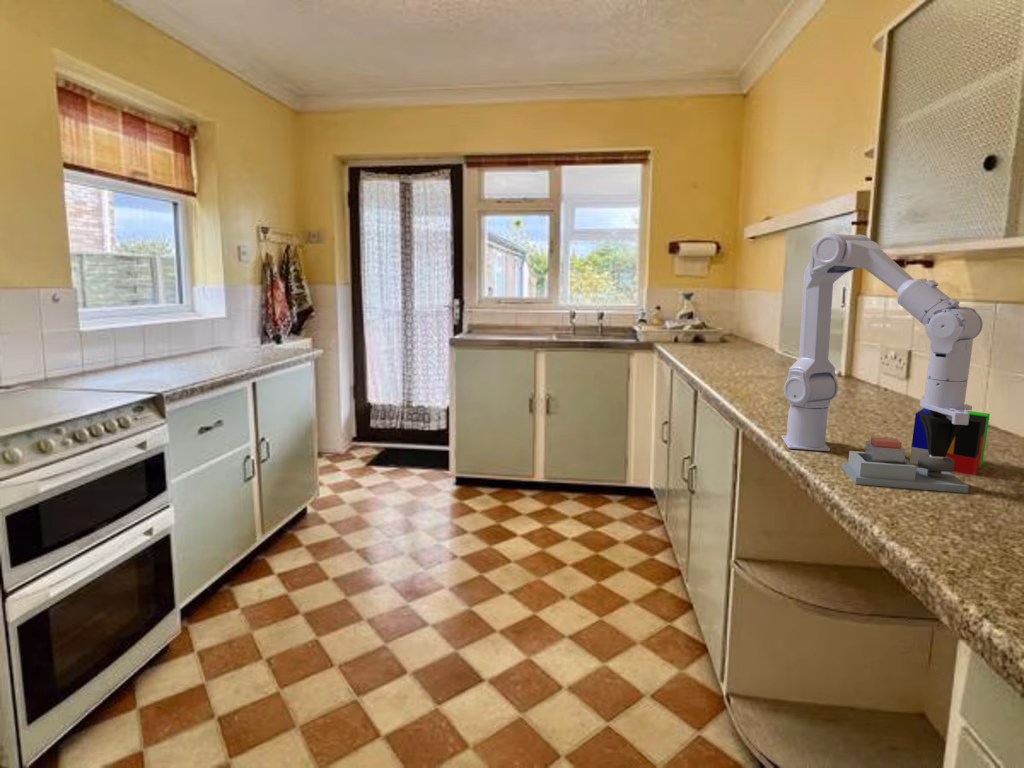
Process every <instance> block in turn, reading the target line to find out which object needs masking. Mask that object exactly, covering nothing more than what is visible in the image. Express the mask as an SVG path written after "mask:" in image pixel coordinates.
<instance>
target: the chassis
mask: <svg viewBox="0 0 1024 768" xmlns="http://www.w3.org/2000/svg"><path fill="white" fill-rule="evenodd" d="M864 459H865V451H854V450H849V452H848V461H847V462H844V461H843V462H842V464H841V469H842V470H843V472H844V473H845V474H846V475H847V476H848V477H849V478H850V479H851V481H852V482H853V483H854V484H855V485H863V486H874V487H887V488H899V489H900V488H901V489H912V490H924V491H925V490H927V491H936V492H937V491H938V492H950V493H963V494H969V488H970V486H969V485H968V484H966V483H965V482H963V481H962V480H961V479H959V478H958V477H956V476H955V475H954V474H953V473H951V471H949V472H942V471H934V470H929V469H925V468H922V467H917V466H916V464H912V463H911V462H910V460H909V459H907V458H906V457H904V464H892V463H878V462H866V461H865V460H864Z"/></svg>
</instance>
